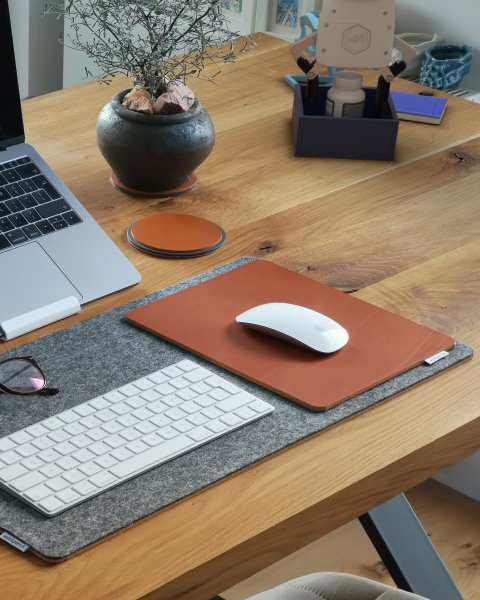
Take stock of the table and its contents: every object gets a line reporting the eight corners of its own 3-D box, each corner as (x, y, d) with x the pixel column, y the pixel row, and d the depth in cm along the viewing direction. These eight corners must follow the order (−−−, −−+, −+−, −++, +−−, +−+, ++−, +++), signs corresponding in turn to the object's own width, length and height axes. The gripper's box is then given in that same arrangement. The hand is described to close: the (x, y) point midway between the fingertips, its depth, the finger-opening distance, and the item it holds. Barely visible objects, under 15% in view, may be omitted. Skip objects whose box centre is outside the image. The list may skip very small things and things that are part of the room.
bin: (382, 124, 164) (388, 87, 161) (393, 161, 153) (399, 121, 150) (291, 120, 166) (295, 83, 163) (294, 156, 154) (298, 116, 151)
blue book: (356, 103, 167) (440, 115, 163) (366, 86, 174) (447, 97, 170) (354, 113, 168) (438, 125, 164) (364, 95, 175) (446, 107, 171)
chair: (351, 92, 176) (361, 17, 170) (302, 96, 174) (311, 21, 168) (331, 76, 182) (340, 3, 176) (284, 80, 181) (291, 7, 175)
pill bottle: (365, 133, 160) (374, 73, 155) (351, 144, 156) (359, 84, 151) (331, 125, 162) (338, 66, 158) (316, 136, 158) (323, 76, 154)
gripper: (296, -14, 146) (284, 111, 154) (432, -10, 144) (412, 117, 152) (293, -28, 152) (282, 93, 161) (424, -25, 150) (405, 98, 159)
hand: (345, 104), depth 157 cm, fingers open, 8 cm apart
